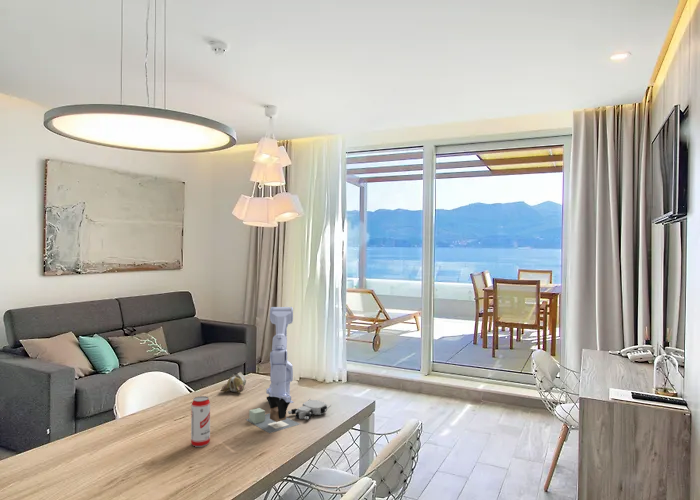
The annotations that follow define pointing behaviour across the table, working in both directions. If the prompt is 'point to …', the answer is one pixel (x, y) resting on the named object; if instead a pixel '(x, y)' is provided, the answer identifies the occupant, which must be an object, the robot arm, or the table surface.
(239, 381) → the ceramic sculpture
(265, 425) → the board
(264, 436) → the table surface
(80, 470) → the table surface
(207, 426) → the beer can
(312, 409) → the robot toy
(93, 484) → the table surface
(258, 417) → the sage block
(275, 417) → the walnut block
